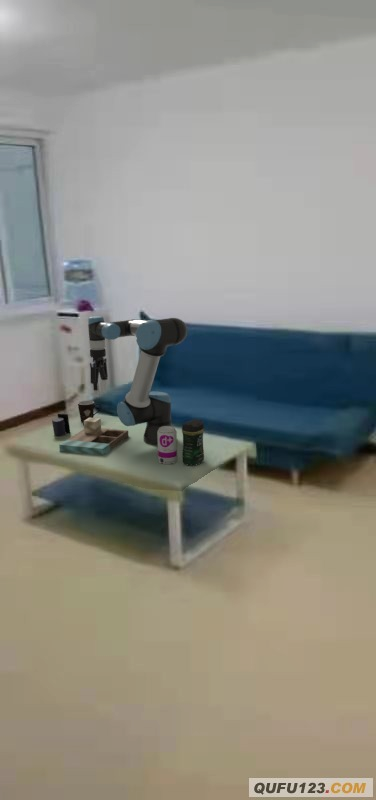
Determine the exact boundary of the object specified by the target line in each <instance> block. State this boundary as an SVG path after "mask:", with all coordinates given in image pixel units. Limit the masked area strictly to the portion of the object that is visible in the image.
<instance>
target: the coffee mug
mask: <svg viewBox="0 0 376 800" xmlns="http://www.w3.org/2000/svg"><path fill="white" fill-rule="evenodd" d="M96 406H99V407H100V408H99V410H97V411H96V412H94V411H95V407H96ZM77 407H78V412H79V413H78V414H79V419H80V423H81V422H82V423H83V422H84V420H86V419H88V418H94V416H95V415H96V414H98V413H99V412H101V410H102V405H101V404H99V403H95V401H93V400H82V401H79V402H77Z"/></svg>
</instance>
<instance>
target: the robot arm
mask: <svg viewBox="0 0 376 800" xmlns="http://www.w3.org/2000/svg"><path fill="white" fill-rule="evenodd" d="M87 321H88V325H87V326H88V338H89V341H88V342H89V349H90V350H89V357H90V358H92V362H90V363H89V369H90V384H91V385H93V387H92V388H93V397H96V398H99V397H100V396H101V395H100V393H101V394H107V380H108V367H107V366H108V365H107V358H105V357H106V354H107V352H106V340H108V341H109V340H114V341H115V340H117V339H118V338H124V337H136V344H137V346H138V348H139V350H140V353H139V357H138V361H137V366H136V369H135V373H134V377H133V381H132V384H131V386H130V390H129V391H128V392H127V393H126V394H125V396H124V400H123V401H122V400H121V401H119V402H118V403H117V404H116V413H117V416H118V418H119V421H120V422H121V424H122V425H124V426H125V427H130V426H131V427H132V426H137V425H141V424H144V423H146V427H145V430H144V433H143V442H145V443H146V444H150V445H158V437H157V432H158V429H159V428H160V427H162V426H173V425H172V408H171V407H172V405H171V404H172V401H171V400H172V399H171V396H170V394H168V392H165V391H164V392H162V391H151V389H152V386H153V383H154V380H155V377H156V373H157V368H158V366H159V362H160V359H161V357H163V356H164V355H165V354H166V352H167V348H168V347H172V346H177V345H179V344H181V343H182V342H184V340H185V339H186V337H187V335H188V327H187V324H186V323H185V321H183V320H182V319H180V318H178V317H169V318H162V319H151V320H140V319H135V318H134V319H127V320H118V321H110V322H106V321H105V318H104V316H101V315H95V316H94V315H93V316H89V317H88V320H87ZM99 377H100V380H99Z"/></svg>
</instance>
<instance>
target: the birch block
mask: <svg viewBox="0 0 376 800" xmlns="http://www.w3.org/2000/svg"><path fill="white" fill-rule="evenodd" d="M101 428H102V422H101V418H100V417H99V418H98V417H93V418H88V419H86V420H84V423H83V429H84V433H92V434H96V433H98V432H99V431H101Z"/></svg>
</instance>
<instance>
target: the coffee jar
mask: <svg viewBox="0 0 376 800" xmlns="http://www.w3.org/2000/svg"><path fill="white" fill-rule="evenodd" d="M181 426H182V427H181V432H182V458H181V459H182V464H185V465H186V464H188V465H187V466H197V465H199V463H200V464H201V463H203V462H204V461H205V455H204V454H205V453H204V452H205V451H204V431H205V428H204V427H205V425H204V422H203V420H201V419H197V418H193V419H192V420H188V421H186V422H185V423H183V424H181ZM196 464H197V465H196Z"/></svg>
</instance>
